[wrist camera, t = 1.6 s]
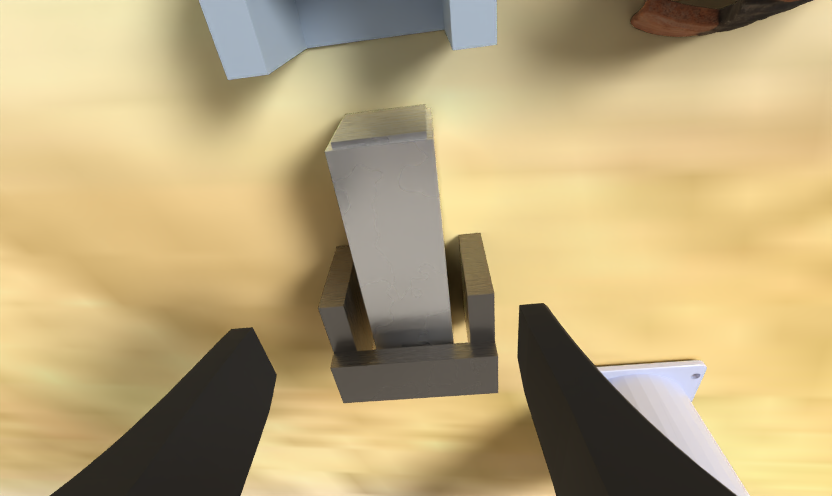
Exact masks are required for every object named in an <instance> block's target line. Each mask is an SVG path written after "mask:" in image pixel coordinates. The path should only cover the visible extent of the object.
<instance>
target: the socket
mask: <svg viewBox="0 0 832 496" xmlns="http://www.w3.org/2000/svg"><path fill="white" fill-rule="evenodd" d="M199 3H200V5H201V8H202V11H203V14H204V16H205V19H206V22H207V24H208V27H209V30H210V33H211V35H212V38H213V41H214V43H215V46H216V49H217V52H218V54H219V57H220V60H221V63H222V65H223V68H224V71H225V73H226V76H227V79H228V80H231V79H239V78H247V77H254V76H262V75H269V74H270V73H271V72H273V71H274V70H276V69H277V68H279V67H280V66H282V65H283V64H285V63H286V62H288V61H289V60H290V59H292V58H293V57H295V56H296V55H298V54H299V53H301V52H302V51H304V50H305V49H307V48H312V47H320V46H327V45H335V44H342V43H349V42H357V41H364V40H371V39H379V38H386V37H394V36H401V35H408V34H416V33H423V32H430V31H438V30H445V33H446V35H447V38H448V40H449V42H450V45H451V47H452V50H459V49H467V48H475V47H482V46H490V45H497V0H199Z"/></svg>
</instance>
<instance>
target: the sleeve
mask: <svg viewBox="0 0 832 496" xmlns="http://www.w3.org/2000/svg"><path fill="white" fill-rule="evenodd" d="M459 246H460V260H461V274H462V288H463V302H464V315H465V322H466V330H467V338H468V343H457V344H444V345H430V346H417V347H404V348H391V349H378V350H372V348H373V340H374V338H373V334H372V330H371V326H370V322H369V319H368V315H367V311H366V307H365V303H364V300H363V296H362V292H361V288H360V284H359V281H358V277H357V273H356V269H355V265H354V261H353V258H352V254H351V250H350V246H340V247H336V251H335V254H334V257H333V261H332V264H331V267H330V270H329V274H328V277H327V280H326V284H325V287H324V290H323V294H322V297H321V300H320V304H319V307H318V309H319V312H320V315H321V318H322V321H323V324H324V326H325V329H326V332H327V335H328V338H329V340H330V343H331V346H332V349H333V352H334V355H333V359H332V363H331V371H332V374H333V376H334V379H335V382H336V384H337V387H338V390H339V392H340V395H341V398H342V400H343V403H352V402H367V401H383V400H398V399H413V398H428V397H443V396H459V395H474V394H489V393H498V354H497V349H496V344H495V317H494V290H493V286H492V282H491V277H490V273H489V268H488V264H487V260H486V255H485V251H484V247H483V242H482V238H481V234H480V233H475V234H465V235H459Z"/></svg>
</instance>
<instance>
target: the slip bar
mask: <svg viewBox="0 0 832 496" xmlns="http://www.w3.org/2000/svg"><path fill="white" fill-rule="evenodd" d="M325 155H326V159H327V162H328V166H329V170H330V174H331V178H332V182H333V185H334V189H335V193H336V197H337V201H338V204H339V208H340V212H341V216H342V220H343V223H344V227H345V231H346V235H347V239H348V242H349V246H350V250H351V254H352V258H353V261H354V265H355V269H356V273H357V277H358V281H359V284H360V288H361V292H362V296H363V300H364V303H365V307H366V311H367V315H368V319H369V322H370V326H371V330H372V334H373V338H374V341H375V345H376V349H377V350H378V349H391V348H404V347H417V346H430V345H444V344H454V338H453V327H452V317H451V307H450V297H449V286H448V276H447V266H446V255H445V245H444V235H443V225H442V214H441V204H440V194H439V184H438V173H437V163H436V153H435V143H434V132H433V122H432V112H431V108H426V107H425V104H424V105H415V106H407V107H399V108H391V109H383V110H374V111H366V112H358V113H350V114H345V116H344V118H342V120H341V122H340V124H339V125H338V127H337V129H336V131H335V133H334V135H333V137H332V139H331V141H330V142H329V144H328V146H327V148H326V150H325Z"/></svg>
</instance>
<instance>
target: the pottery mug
mask: <svg viewBox="0 0 832 496" xmlns="http://www.w3.org/2000/svg"><path fill="white" fill-rule="evenodd" d="M810 1H813V0H738V1H737V2H736V3H735V4H731V5H729V6H726V7H724V8H722V9H712V8H705V7H696V6H692V5H686V4H682V3H679V2H675V1H671V0H647V1H646V2H645V4H644V5H643V7H642V8H641V9H640V11H638V12H637V13H635V14H634V15H633V17H632V19H631V24H632V25H633V26H634V27H635V28H637V29H640V30H643V31H645V32H648V33H652V34H656V35H663V36H673V37H682V36H685V37H687V36H695V35H698V36H701V35H707V34H712V33H715V32H723V31H730V30H733V29H737V28H740V27H743V26H746V25H749V24H751V23H753V22H755V21H757V20H762V19H765V18H767V17H769V16H772V15H775V14H778V13H781V12H784V11H787V10H791V9H793V8H795V7H797V6H799V5H802V4H805V3H807V2H810Z"/></svg>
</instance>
